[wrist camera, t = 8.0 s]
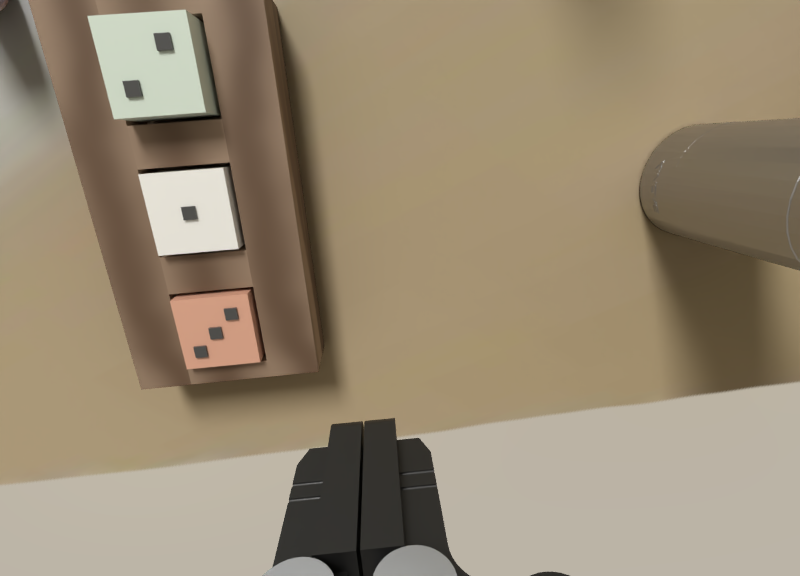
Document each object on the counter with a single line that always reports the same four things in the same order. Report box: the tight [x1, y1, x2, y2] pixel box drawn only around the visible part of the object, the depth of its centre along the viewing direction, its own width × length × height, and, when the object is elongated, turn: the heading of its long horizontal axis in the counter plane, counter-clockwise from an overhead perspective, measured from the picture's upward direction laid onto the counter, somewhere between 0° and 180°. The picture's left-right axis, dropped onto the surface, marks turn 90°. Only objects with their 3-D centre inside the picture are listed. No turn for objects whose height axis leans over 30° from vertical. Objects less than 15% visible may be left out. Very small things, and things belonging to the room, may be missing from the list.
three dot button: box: [170, 287, 265, 369], centre depth 35 cm, size 6×6×4 cm
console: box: [28, 0, 324, 390], centre depth 34 cm, size 14×27×5 cm, turn 4°
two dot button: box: [87, 10, 221, 122], centre depth 28 cm, size 6×6×4 cm
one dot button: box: [138, 166, 245, 256], centre depth 32 cm, size 6×6×4 cm
